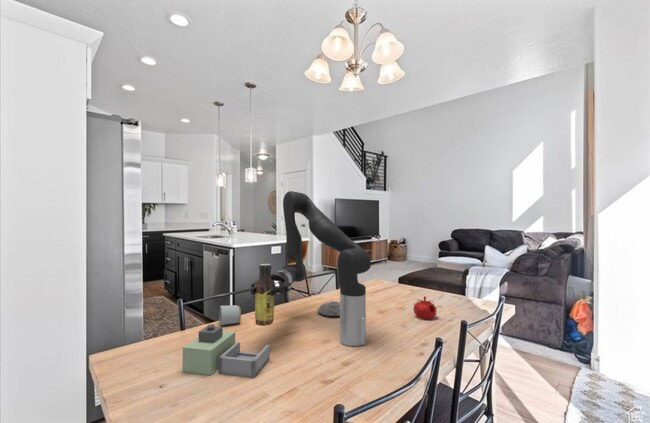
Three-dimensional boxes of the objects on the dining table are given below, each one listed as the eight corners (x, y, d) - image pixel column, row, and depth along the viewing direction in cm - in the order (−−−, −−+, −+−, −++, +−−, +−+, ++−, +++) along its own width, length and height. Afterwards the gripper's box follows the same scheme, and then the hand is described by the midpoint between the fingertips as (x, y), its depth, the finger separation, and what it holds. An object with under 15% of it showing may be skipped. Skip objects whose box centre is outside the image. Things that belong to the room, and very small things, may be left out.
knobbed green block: (271, 357, 97) (271, 321, 97) (252, 380, 83) (252, 339, 83) (210, 350, 101) (210, 316, 101) (182, 371, 87) (183, 332, 87)
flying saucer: (350, 309, 148) (350, 297, 148) (349, 319, 133) (349, 307, 133) (319, 307, 150) (319, 296, 150) (315, 318, 135) (315, 305, 135)
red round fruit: (412, 320, 133) (412, 298, 133) (414, 312, 143) (414, 293, 143) (436, 322, 130) (435, 300, 130) (437, 315, 139) (436, 294, 139)
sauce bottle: (269, 327, 98) (269, 266, 99) (251, 326, 100) (252, 265, 100) (276, 320, 105) (277, 263, 105) (260, 319, 106) (260, 262, 106)
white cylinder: (241, 325, 125) (241, 306, 125) (220, 328, 121) (221, 308, 121) (236, 317, 134) (237, 300, 134) (217, 320, 130) (217, 302, 131)
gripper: (262, 270, 118) (241, 279, 102) (297, 272, 115) (282, 282, 99) (262, 290, 118) (241, 302, 101) (297, 292, 115) (282, 305, 98)
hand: (262, 292), depth 100 cm, fingers closed on sauce bottle, 6 cm apart
